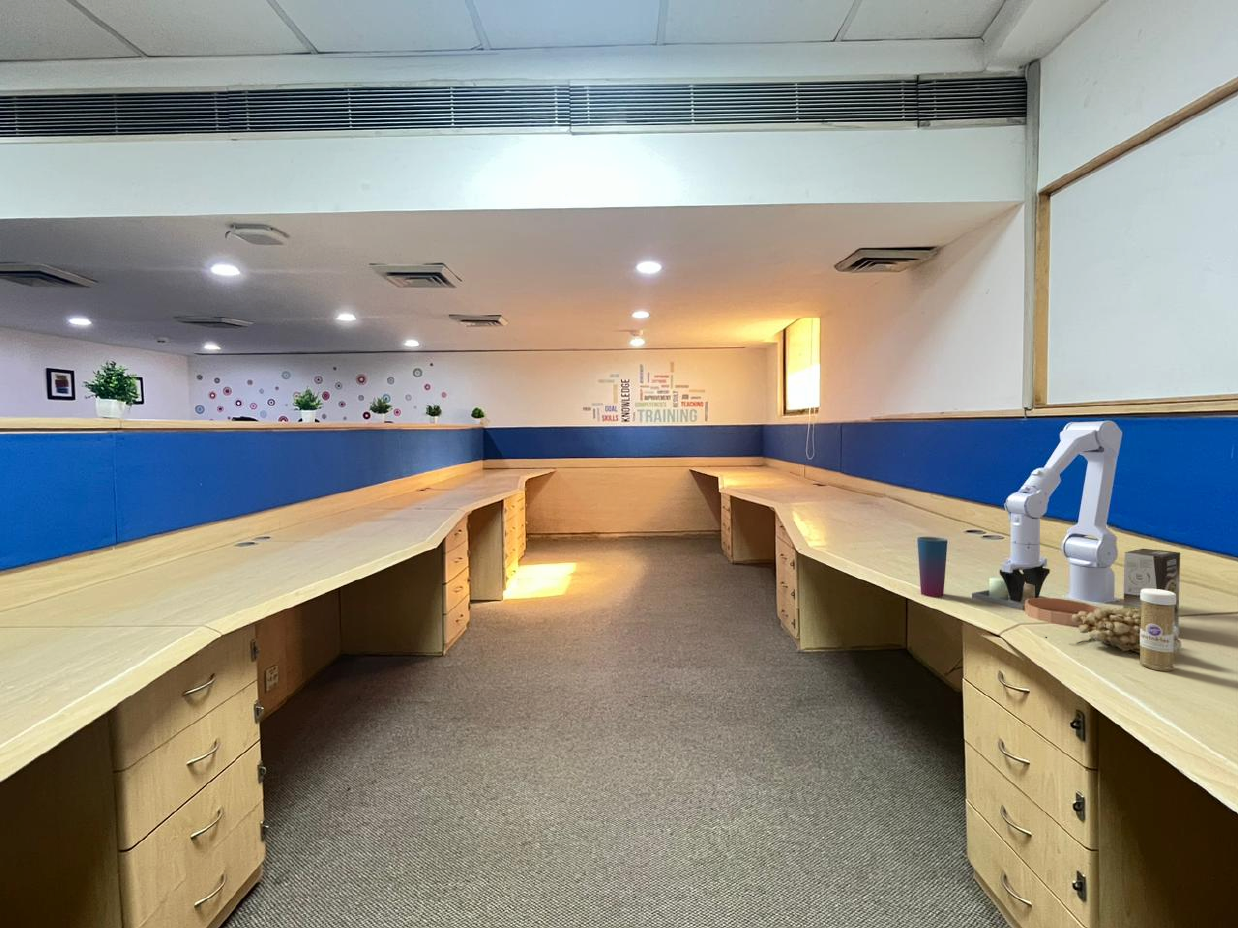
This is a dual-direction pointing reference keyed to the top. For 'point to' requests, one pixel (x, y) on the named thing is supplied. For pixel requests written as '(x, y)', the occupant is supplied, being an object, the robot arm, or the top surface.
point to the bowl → (1056, 610)
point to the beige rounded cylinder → (1027, 593)
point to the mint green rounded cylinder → (998, 588)
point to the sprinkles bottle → (1157, 629)
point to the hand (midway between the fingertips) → (1024, 598)
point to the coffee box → (1150, 576)
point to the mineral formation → (1116, 627)
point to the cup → (932, 565)
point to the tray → (998, 600)
